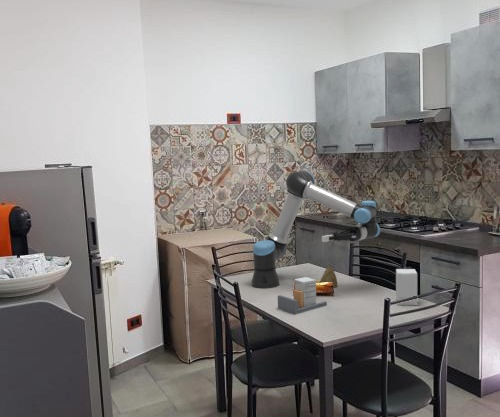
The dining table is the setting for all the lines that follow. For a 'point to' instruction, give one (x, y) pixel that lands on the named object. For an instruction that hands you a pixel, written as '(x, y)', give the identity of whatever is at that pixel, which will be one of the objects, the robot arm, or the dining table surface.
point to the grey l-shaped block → (295, 305)
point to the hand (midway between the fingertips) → (323, 239)
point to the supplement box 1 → (307, 290)
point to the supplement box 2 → (406, 285)
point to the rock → (329, 276)
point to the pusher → (299, 298)
